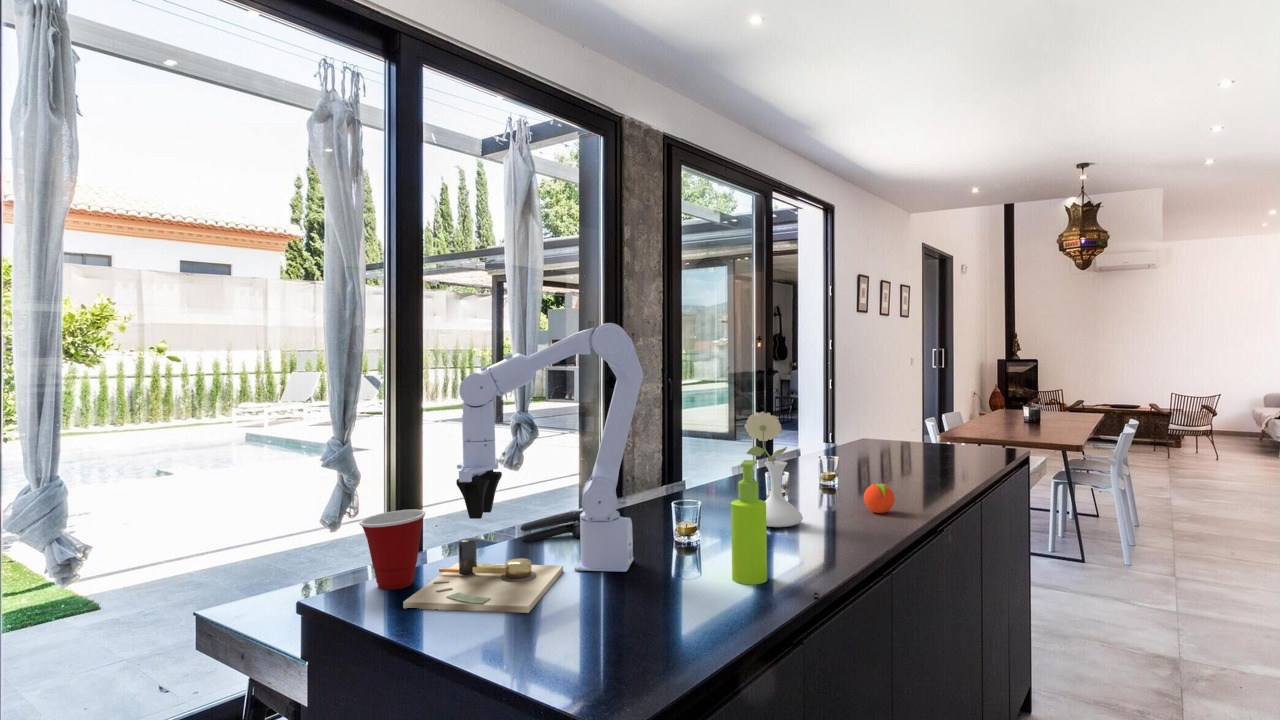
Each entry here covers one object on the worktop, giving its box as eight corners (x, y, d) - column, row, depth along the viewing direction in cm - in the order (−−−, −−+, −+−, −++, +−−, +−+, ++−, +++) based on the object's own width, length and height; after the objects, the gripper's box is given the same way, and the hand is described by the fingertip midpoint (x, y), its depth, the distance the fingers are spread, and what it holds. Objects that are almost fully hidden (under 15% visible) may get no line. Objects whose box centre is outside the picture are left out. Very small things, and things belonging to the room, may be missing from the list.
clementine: (900, 517, 170) (900, 486, 170) (870, 517, 170) (869, 486, 170) (889, 509, 178) (889, 479, 178) (860, 509, 178) (859, 480, 178)
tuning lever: (534, 570, 129) (534, 538, 129) (527, 578, 124) (526, 545, 124) (445, 567, 131) (444, 536, 131) (434, 575, 127) (433, 543, 127)
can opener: (598, 530, 164) (597, 504, 164) (607, 537, 157) (606, 511, 157) (517, 538, 158) (516, 512, 158) (523, 546, 151) (523, 518, 151)
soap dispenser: (770, 573, 129) (769, 458, 129) (764, 585, 123) (762, 465, 123) (737, 570, 131) (735, 457, 131) (728, 582, 125) (727, 463, 125)
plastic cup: (375, 575, 133) (373, 507, 132) (435, 574, 132) (434, 507, 132) (349, 595, 122) (347, 522, 122) (415, 594, 121) (413, 521, 121)
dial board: (563, 571, 133) (563, 564, 133) (528, 612, 112) (528, 604, 112) (456, 568, 136) (456, 561, 136) (403, 608, 115) (403, 600, 115)
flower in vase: (810, 522, 166) (808, 410, 166) (791, 533, 157) (790, 415, 156) (756, 516, 173) (754, 408, 173) (735, 526, 164) (733, 413, 163)
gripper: (472, 435, 142) (474, 506, 142) (441, 445, 128) (443, 524, 128) (508, 435, 141) (509, 506, 141) (480, 445, 127) (482, 524, 127)
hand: (480, 515), depth 135 cm, fingers open, 4 cm apart
